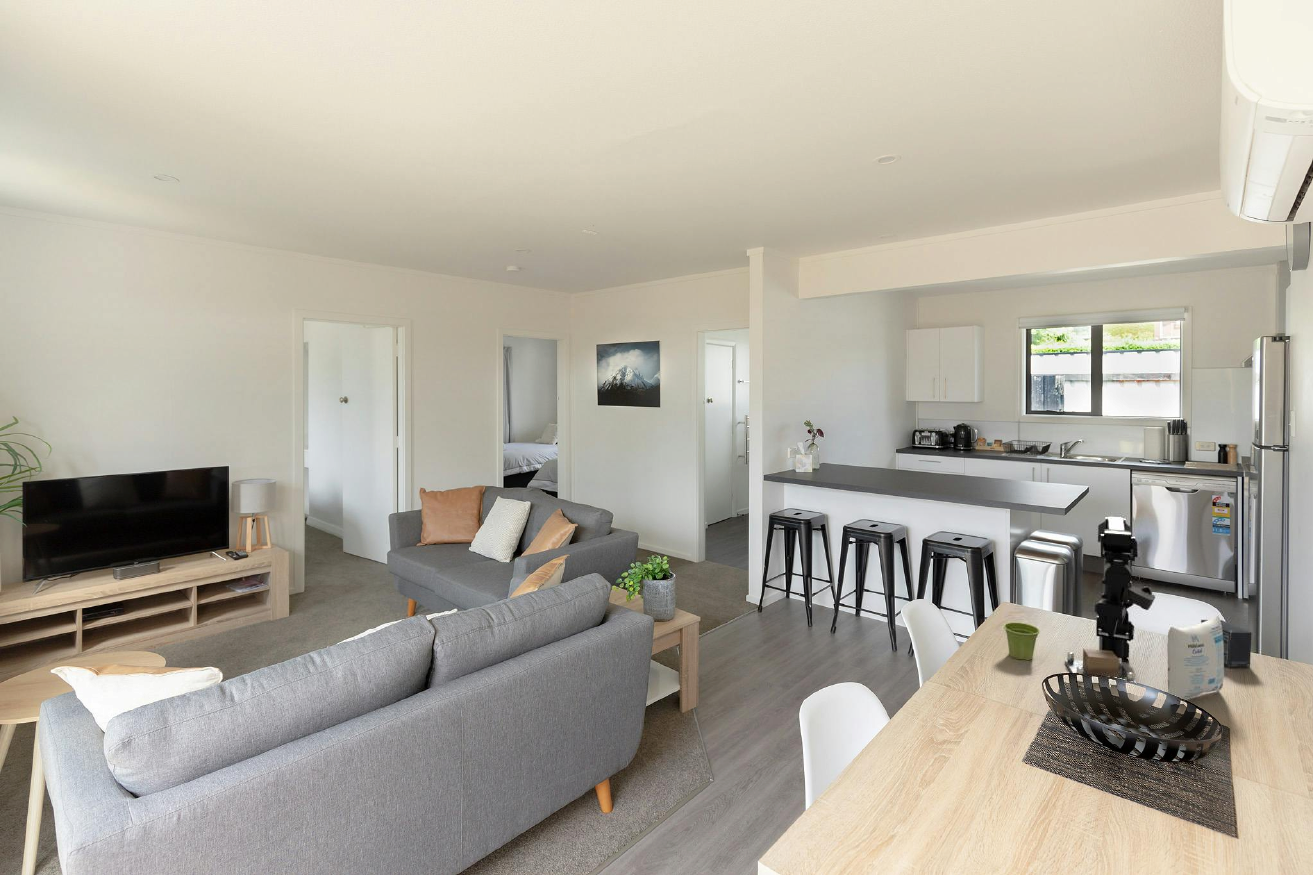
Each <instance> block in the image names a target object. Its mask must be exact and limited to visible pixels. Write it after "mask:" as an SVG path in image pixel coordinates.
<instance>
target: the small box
mask: <svg viewBox="0 0 1313 875" xmlns="http://www.w3.org/2000/svg"><path fill="white" fill-rule="evenodd" d="M1207 620H1208V619H1201V620H1200V623H1203V622H1205V621H1207ZM1220 621H1221V625H1222V631H1223V644H1224V667H1226V668H1228V669H1230V668H1231V669H1239V668H1240V669H1244V668H1245V669H1249V668H1251V656H1252V655H1251V653H1252V649H1251V648H1252V635H1253V634H1252V631H1249V630H1247V629H1244V628H1241V627H1240V626H1237V625H1235V624H1232V623H1230V622H1227V621H1224V620H1222V619H1220Z"/></svg>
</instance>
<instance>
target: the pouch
mask: <svg viewBox="0 0 1313 875" xmlns="http://www.w3.org/2000/svg"><path fill="white" fill-rule="evenodd" d="M1206 620H1207V621H1205V622H1203V623H1201V622H1200V623H1197V624H1193V625H1191V626H1189V627H1180V628H1178V627H1177V628H1176V627H1174V626H1171V627H1170V628H1169V630H1168V632H1167V642H1166V643H1167V644H1166V646H1167V648H1166V649H1167V651H1166V652H1167V690H1168V695H1169V694H1173V695H1176V696H1178V697H1180V698H1181V699H1185V700H1184V701H1186V700H1188V699H1192V698H1194V697H1198V696H1200V695H1202V694H1204V693H1210V692H1218V693H1219V692H1221V690H1222V689H1223V686H1224V678H1225V676H1224V675H1225V673H1224V672H1225V666H1224V644H1223V631H1222V625H1221V621H1220V620H1221V619H1220V616H1219V615H1218V616H1215V617H1212V618H1210V619H1206Z"/></svg>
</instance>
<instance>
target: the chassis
mask: <svg viewBox="0 0 1313 875" xmlns="http://www.w3.org/2000/svg"><path fill="white" fill-rule="evenodd" d="M1066 654H1067V656H1066V657H1067V658H1065V659H1064V663H1065V665H1066V667H1067V669H1068V671H1069V672H1070V673H1079V674H1083V673H1084V674H1088V673H1087V671H1086V670H1085V668H1084V667H1083V660H1078V659H1077V660H1075V653H1074V652H1072V651H1071V652H1070V651H1068V652H1067V653H1066ZM1117 658H1118V659H1119V677H1117V678H1122V679H1125V680H1127V681H1133V682H1135V683H1136V681H1135V673H1134V672H1130V671H1127V670H1126V668H1125V667H1124V666H1123V665H1122V664H1123V661H1122V658H1120V657H1117ZM1136 684H1137V683H1136Z"/></svg>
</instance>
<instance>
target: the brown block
mask: <svg viewBox="0 0 1313 875" xmlns="http://www.w3.org/2000/svg"><path fill="white" fill-rule="evenodd" d="M1082 661H1083V667H1084V668H1085V670H1086V671H1087V673H1088V674H1092V675H1101V676H1110V677H1119V659H1118V658H1117V657H1116V655H1115V654H1114V653H1113V652H1112V651H1105V650H1099V649H1094V648H1093V649H1092V648H1085V647H1084V648H1083V649H1082Z"/></svg>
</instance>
